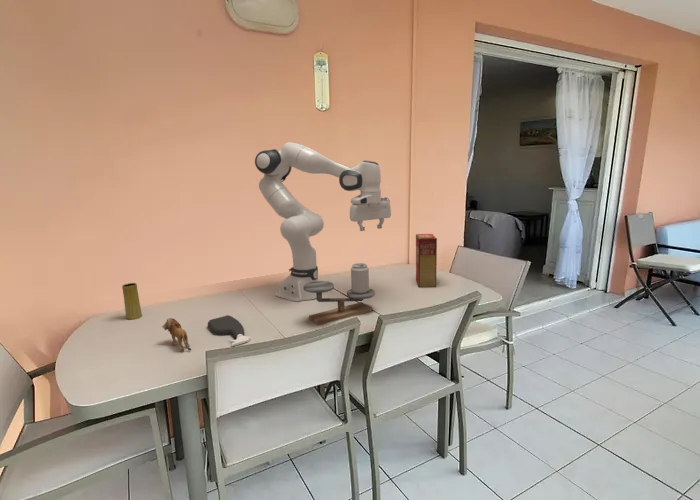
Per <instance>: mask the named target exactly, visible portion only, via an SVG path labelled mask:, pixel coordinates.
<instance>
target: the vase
mask: <svg viewBox="0 0 700 500" xmlns="http://www.w3.org/2000/svg"><path fill="white" fill-rule="evenodd" d="M121 288H122V294H123V303H124V310H125V319H126V320H128V321H129V320H138V319H140V318H141V317H143V313H142V308H141V303H140V296H139V292H138V285H137V283H136V282H130V283H125V284H123V285H122V286H121Z"/></svg>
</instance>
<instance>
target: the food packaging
mask: <svg viewBox="0 0 700 500" xmlns="http://www.w3.org/2000/svg"><path fill="white" fill-rule="evenodd" d="M437 241H438V238H437V237H436V236H435V235H434V234H433V233H416V234H415V282H416V285H417V287H418V288H437V263H438V262H437V255H438V254H437V252H438V251H437V250H438V247H437V246H438V244H437V243H438V242H437Z"/></svg>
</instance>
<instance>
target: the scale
mask: <svg viewBox="0 0 700 500" xmlns="http://www.w3.org/2000/svg"><path fill="white" fill-rule="evenodd" d="M303 287H304V290H305V291H307V292H311V293H316V296H317V298H316V301H317V302H318V303H329V302H330V303H334V302H337V308H333V309H328V310H324V311H320V312H318V313H313V314H309V315H308V320H310V321H311V322H312V323H314V324H316V325H317V326H321V325H324V324H329V323H332V322H335V321H339V320H344V319H347V318H350V317H354V316H357V315H362V314H365V313H369V312H372V311H373V306H371V305H369V304H366V303H365V302H363V300H366V299H371V298H373V297H375V295H376V291H375V290H374V289H372V288H369V291H367V293H364V294H356V293H354V292H353V291H352V290H351V288H350V289H348V290H347V291H346V296H347V297H331V298H330V297H328V298H323V293H327V292H331V291H332V290H334V289H335V284H334V283H333V282H331V281H326V280H318V281H315V282H310V283H307V284H305V285H304V286H303ZM345 302H355V303H353V304H348V305H345Z"/></svg>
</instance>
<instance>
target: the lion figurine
mask: <svg viewBox="0 0 700 500" xmlns="http://www.w3.org/2000/svg"><path fill="white" fill-rule="evenodd" d="M161 328H163V329H164V331H167V332H169V334H170V335H171V338H172V344H171V346H173V345H176V344H177V343H178V345H179V348H180V352H181V353H182V352H183V353H184V351H185V349H184V346H185V348H187V349H188V351H192V348H190V344H189V340H188V334H187V332H186V330H185V329H183V328H182V325H181V323H179V322H178V320H176V319H175V318H172V317H169V318H167V319H166V321H165V322H164V324H163V325H162V326H161ZM176 338H177V340H176ZM183 344H184V346H183Z"/></svg>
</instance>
